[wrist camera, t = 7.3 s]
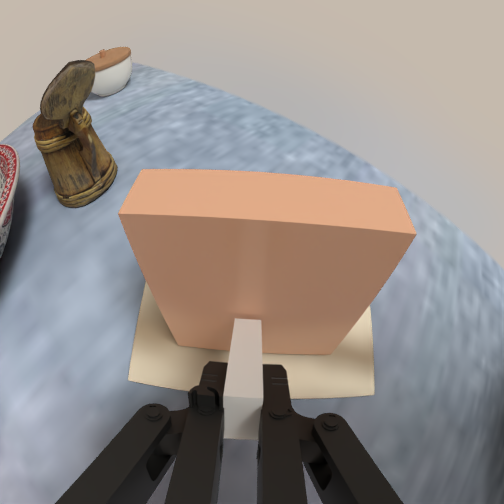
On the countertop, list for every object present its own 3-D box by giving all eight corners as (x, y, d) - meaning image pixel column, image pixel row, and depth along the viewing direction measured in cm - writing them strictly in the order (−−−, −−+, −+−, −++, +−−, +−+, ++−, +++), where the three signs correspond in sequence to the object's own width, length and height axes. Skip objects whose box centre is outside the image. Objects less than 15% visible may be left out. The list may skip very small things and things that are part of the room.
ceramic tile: (330, 354, 21) (416, 234, 10) (178, 345, 21) (117, 213, 10) (328, 318, 23) (394, 184, 12) (184, 309, 23) (143, 166, 12)
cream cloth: (370, 395, 20) (374, 394, 20) (131, 381, 21) (128, 380, 20) (349, 191, 32) (351, 187, 31) (176, 180, 32) (175, 175, 31)
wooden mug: (99, 237, 28) (20, 95, 12) (48, 192, 31) (-9, 87, 16) (153, 183, 32) (115, 38, 16) (93, 151, 35) (55, 43, 19)
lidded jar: (83, 93, 46) (72, 57, 38) (128, 73, 49) (120, 37, 41) (92, 109, 42) (79, 67, 33) (144, 85, 45) (135, 44, 37)
